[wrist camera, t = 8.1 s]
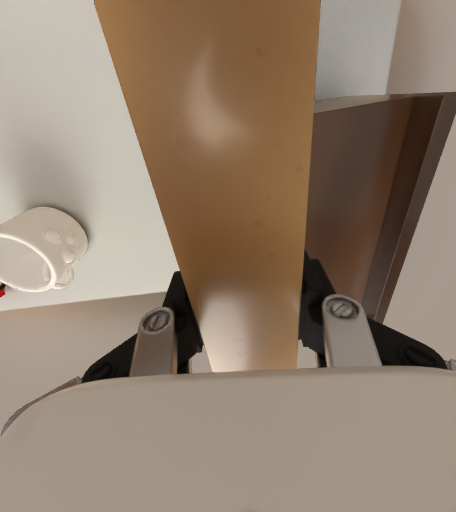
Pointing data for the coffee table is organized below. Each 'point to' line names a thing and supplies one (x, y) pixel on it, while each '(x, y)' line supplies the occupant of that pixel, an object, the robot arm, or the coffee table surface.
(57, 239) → the mug
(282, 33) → the stick
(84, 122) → the coffee table surface
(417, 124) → the shelf
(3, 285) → the toy car
